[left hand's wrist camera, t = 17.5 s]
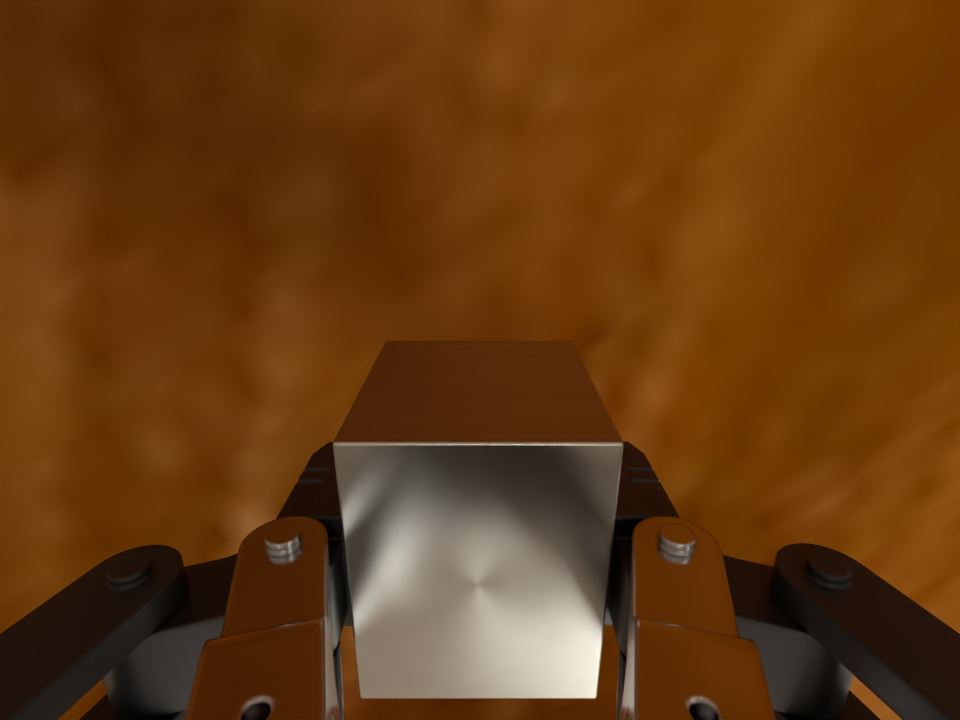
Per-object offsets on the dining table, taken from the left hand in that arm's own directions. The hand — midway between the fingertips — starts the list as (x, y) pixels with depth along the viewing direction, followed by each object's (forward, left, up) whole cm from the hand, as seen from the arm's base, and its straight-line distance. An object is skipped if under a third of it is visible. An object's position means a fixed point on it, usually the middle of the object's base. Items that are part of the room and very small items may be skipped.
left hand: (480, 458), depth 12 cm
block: (0, 0, 0) cm, 0 cm away
